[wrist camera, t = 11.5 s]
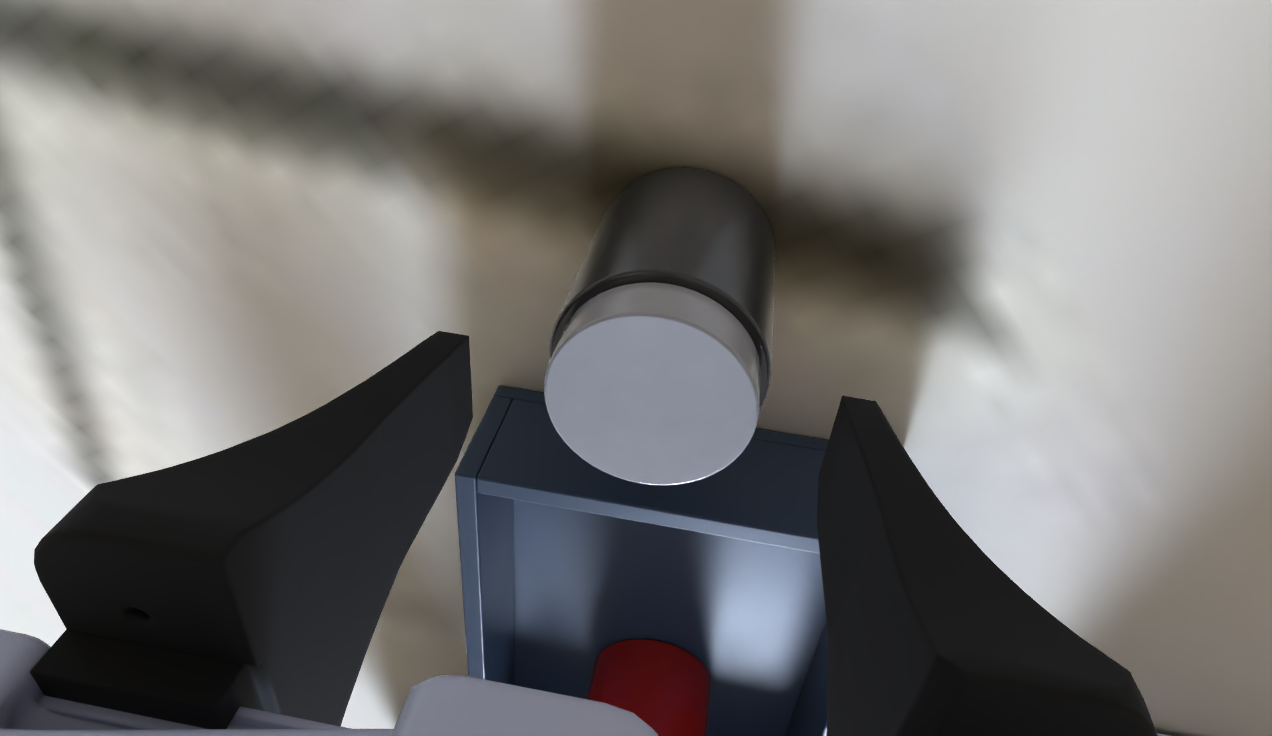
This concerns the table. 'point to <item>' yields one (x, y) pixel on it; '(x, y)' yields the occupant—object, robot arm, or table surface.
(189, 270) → the table surface
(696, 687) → the salt shaker
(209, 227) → the table surface
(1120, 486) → the table surface
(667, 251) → the pepper shaker
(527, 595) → the bin
